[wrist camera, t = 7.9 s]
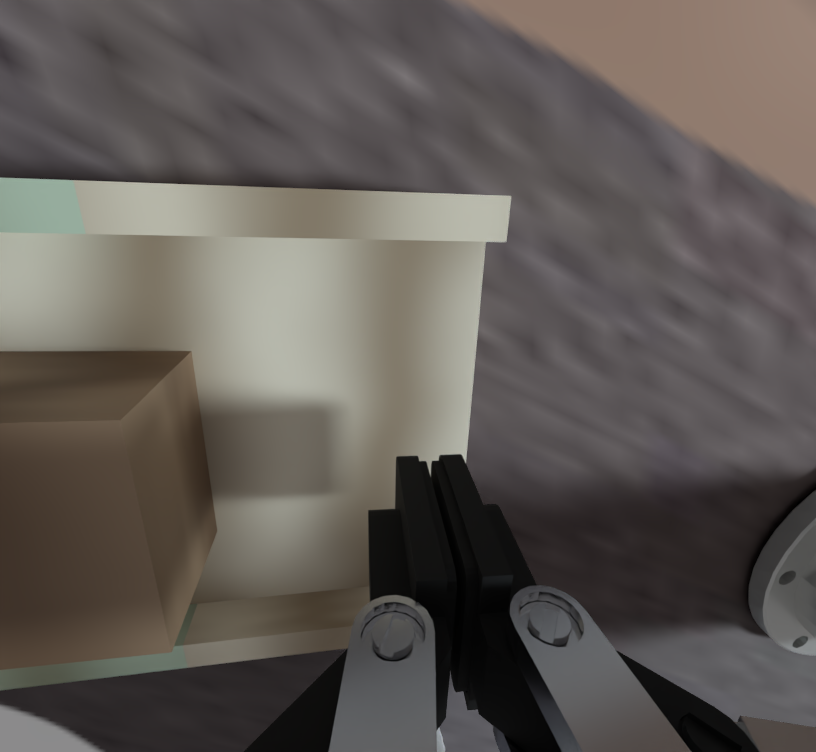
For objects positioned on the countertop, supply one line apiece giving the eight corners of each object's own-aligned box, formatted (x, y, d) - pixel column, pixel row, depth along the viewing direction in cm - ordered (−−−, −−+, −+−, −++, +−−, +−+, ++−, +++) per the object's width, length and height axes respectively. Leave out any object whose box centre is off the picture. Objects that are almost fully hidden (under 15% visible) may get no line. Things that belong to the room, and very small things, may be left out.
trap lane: (468, 198, 13) (511, 195, 10) (442, 557, 18) (464, 634, 15) (-532, 164, 9) (-981, 141, 6) (-215, 618, 15) (-372, 735, 11)
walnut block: (191, 351, 11) (120, 419, 8) (217, 531, 14) (172, 652, 10) (-70, 351, 10) (-294, 430, 7) (2, 544, 13) (-137, 683, 9)
